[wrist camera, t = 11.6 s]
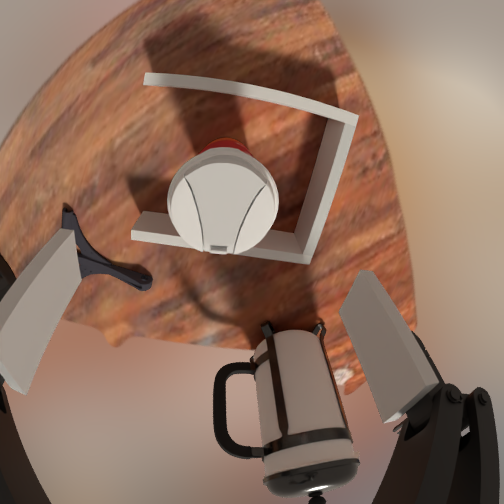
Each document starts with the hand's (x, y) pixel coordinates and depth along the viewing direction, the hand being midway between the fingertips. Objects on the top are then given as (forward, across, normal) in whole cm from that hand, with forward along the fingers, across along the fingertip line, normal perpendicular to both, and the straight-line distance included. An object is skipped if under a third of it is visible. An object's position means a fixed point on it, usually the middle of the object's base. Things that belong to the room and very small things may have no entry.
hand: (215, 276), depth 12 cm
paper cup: (+21, 0, 0) cm, 21 cm away
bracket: (+22, -15, -17) cm, 31 cm away
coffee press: (+21, +14, -29) cm, 39 cm away
